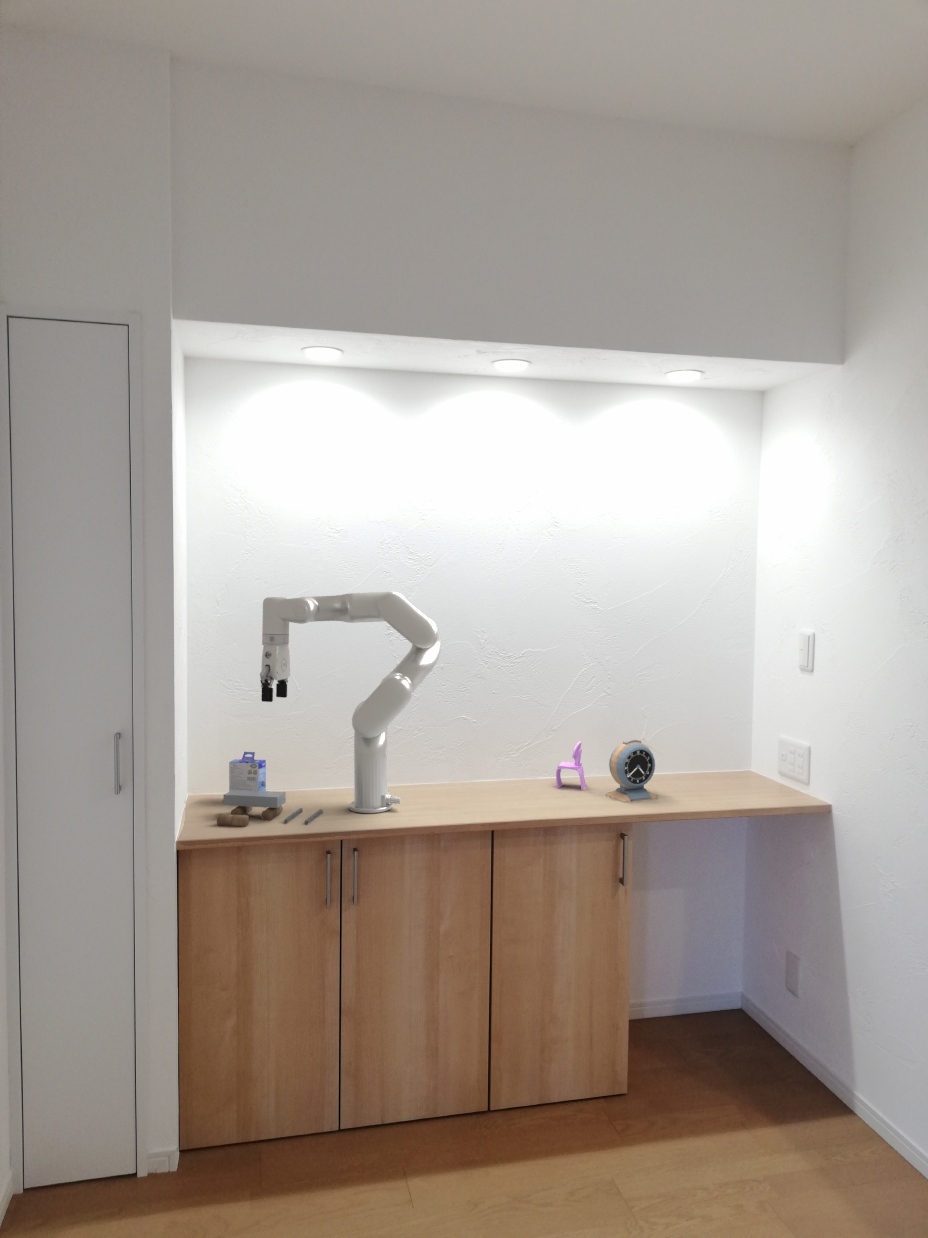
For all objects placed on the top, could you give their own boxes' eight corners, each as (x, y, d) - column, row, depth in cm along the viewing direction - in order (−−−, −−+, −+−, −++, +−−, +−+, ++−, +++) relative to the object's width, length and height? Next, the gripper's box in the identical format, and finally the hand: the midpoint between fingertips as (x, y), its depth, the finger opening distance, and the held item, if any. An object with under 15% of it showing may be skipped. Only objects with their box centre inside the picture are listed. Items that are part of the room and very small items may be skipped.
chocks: (322, 812, 251) (322, 809, 251) (307, 824, 240) (307, 820, 239) (300, 811, 253) (299, 808, 252) (284, 823, 241) (284, 819, 241)
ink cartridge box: (267, 799, 267) (266, 751, 266) (259, 803, 262) (258, 755, 261) (236, 797, 269) (236, 750, 268) (228, 802, 264) (227, 754, 263)
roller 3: (282, 814, 251) (283, 803, 251) (271, 821, 244) (272, 811, 243) (272, 812, 252) (273, 802, 252) (260, 820, 244) (261, 809, 244)
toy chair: (560, 783, 287) (560, 737, 287) (587, 785, 284) (587, 739, 284) (554, 789, 280) (554, 742, 279) (581, 791, 277) (582, 744, 276)
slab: (285, 802, 250) (285, 792, 250) (277, 808, 244) (277, 797, 244) (232, 800, 253) (232, 789, 253) (223, 805, 247) (223, 794, 247)
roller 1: (252, 812, 253) (252, 802, 253) (240, 819, 245) (240, 809, 245) (242, 811, 254) (242, 801, 253) (230, 819, 246) (230, 808, 246)
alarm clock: (621, 803, 262) (621, 744, 262) (603, 795, 271) (603, 738, 270) (660, 798, 268) (661, 740, 267) (641, 790, 277) (642, 735, 276)
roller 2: (249, 824, 240) (248, 814, 240) (244, 828, 237) (244, 817, 237) (221, 823, 241) (221, 812, 241) (216, 826, 238) (216, 815, 238)
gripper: (274, 642, 244) (273, 704, 244) (299, 638, 260) (298, 696, 261) (249, 641, 245) (248, 702, 246) (276, 637, 262) (275, 695, 263)
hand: (274, 699), depth 254 cm, fingers open, 9 cm apart
